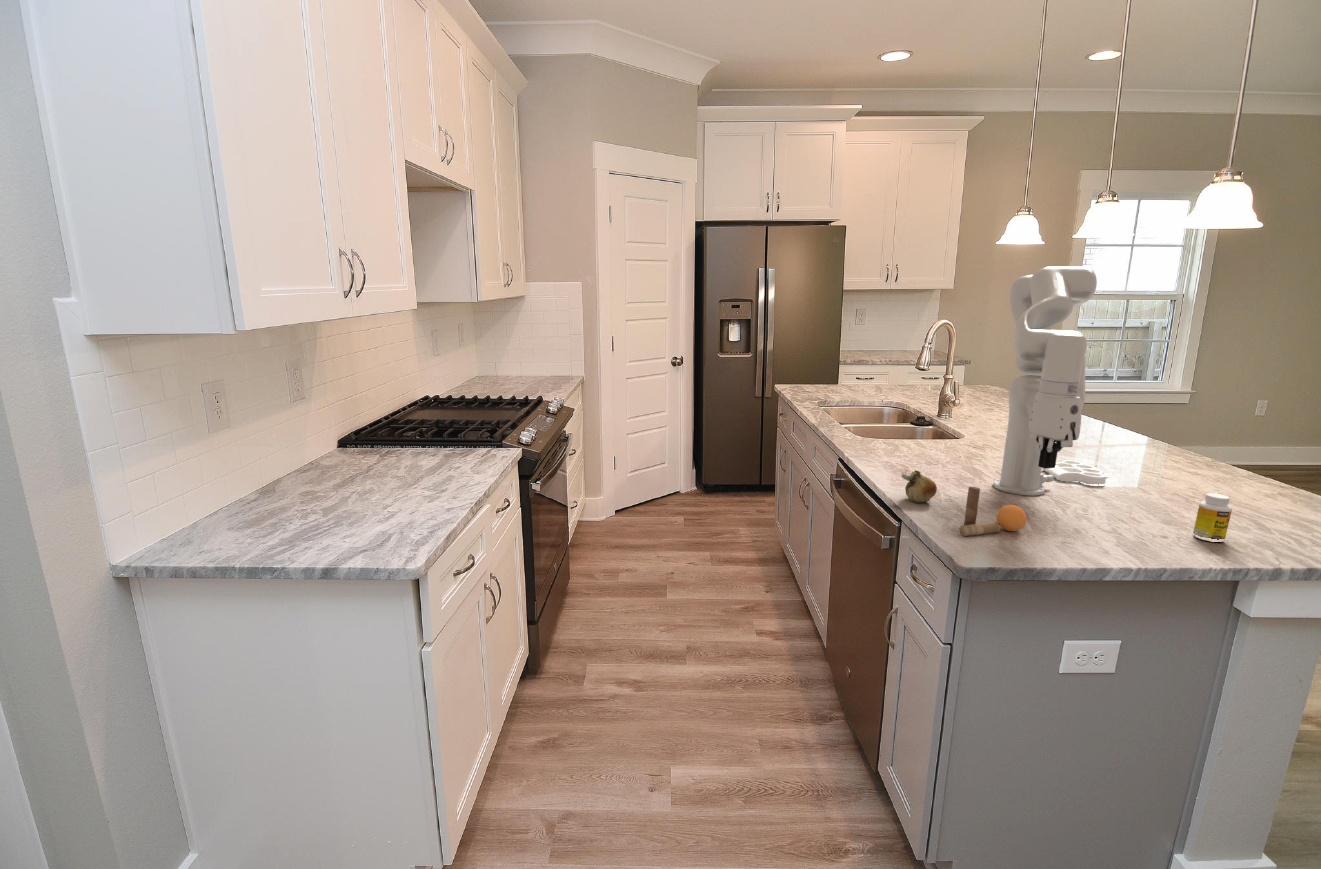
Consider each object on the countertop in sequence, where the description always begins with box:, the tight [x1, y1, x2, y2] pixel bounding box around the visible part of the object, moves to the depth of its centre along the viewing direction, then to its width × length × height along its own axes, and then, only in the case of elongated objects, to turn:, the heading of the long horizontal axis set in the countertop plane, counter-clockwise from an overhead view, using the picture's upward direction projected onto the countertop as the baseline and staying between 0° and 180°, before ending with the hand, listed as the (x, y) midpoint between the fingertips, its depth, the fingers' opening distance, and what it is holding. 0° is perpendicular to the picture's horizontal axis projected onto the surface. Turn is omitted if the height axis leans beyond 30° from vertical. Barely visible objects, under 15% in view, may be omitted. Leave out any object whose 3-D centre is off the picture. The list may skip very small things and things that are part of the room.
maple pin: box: [959, 521, 1001, 537], centre depth 146 cm, size 2×2×9 cm
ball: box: [996, 504, 1027, 532], centre depth 148 cm, size 6×6×6 cm
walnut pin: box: [963, 486, 981, 525], centre depth 150 cm, size 2×2×9 cm
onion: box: [901, 469, 938, 504], centre depth 167 cm, size 8×8×8 cm
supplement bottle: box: [1192, 492, 1233, 540], centre depth 144 cm, size 6×6×10 cm
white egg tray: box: [1042, 460, 1109, 485], centre depth 191 cm, size 3×18×15 cm
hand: (1046, 467), depth 149 cm, fingers closed
